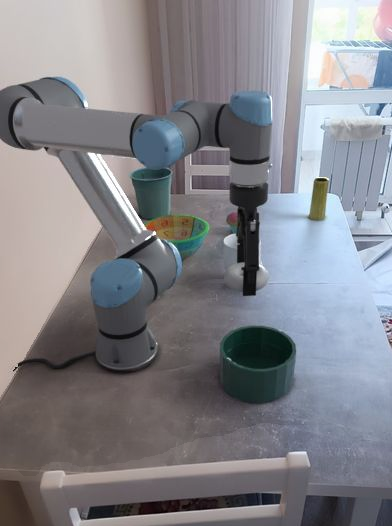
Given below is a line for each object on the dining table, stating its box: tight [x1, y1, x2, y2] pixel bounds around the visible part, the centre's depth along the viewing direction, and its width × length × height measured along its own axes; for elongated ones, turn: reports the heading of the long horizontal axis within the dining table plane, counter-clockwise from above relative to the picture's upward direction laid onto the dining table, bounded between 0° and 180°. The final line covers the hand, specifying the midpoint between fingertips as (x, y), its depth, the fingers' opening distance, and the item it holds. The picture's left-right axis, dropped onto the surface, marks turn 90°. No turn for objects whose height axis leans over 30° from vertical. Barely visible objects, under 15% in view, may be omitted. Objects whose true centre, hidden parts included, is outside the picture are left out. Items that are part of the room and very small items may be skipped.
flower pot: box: [129, 167, 173, 220], centre depth 187 cm, size 16×16×16 cm
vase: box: [308, 177, 330, 221], centre depth 180 cm, size 6×6×14 cm
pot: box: [219, 325, 297, 404], centre depth 109 cm, size 17×17×9 cm
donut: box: [223, 262, 270, 293], centre depth 106 cm, size 10×4×10 cm
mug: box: [222, 233, 264, 271], centre depth 142 cm, size 15×11×13 cm
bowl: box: [143, 214, 210, 261], centre depth 159 cm, size 22×22×10 cm
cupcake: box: [225, 211, 237, 234], centre depth 173 cm, size 9×8×12 cm
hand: (245, 282), depth 107 cm, fingers closed on donut, 10 cm apart
